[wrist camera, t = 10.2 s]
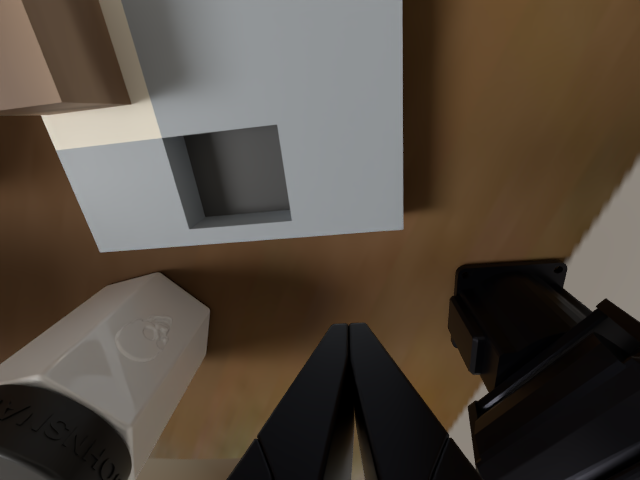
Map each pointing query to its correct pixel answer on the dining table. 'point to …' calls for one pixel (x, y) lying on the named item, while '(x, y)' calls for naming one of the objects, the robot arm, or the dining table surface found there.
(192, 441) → the dining table surface
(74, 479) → the jar
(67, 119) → the trap deck
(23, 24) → the walnut block
